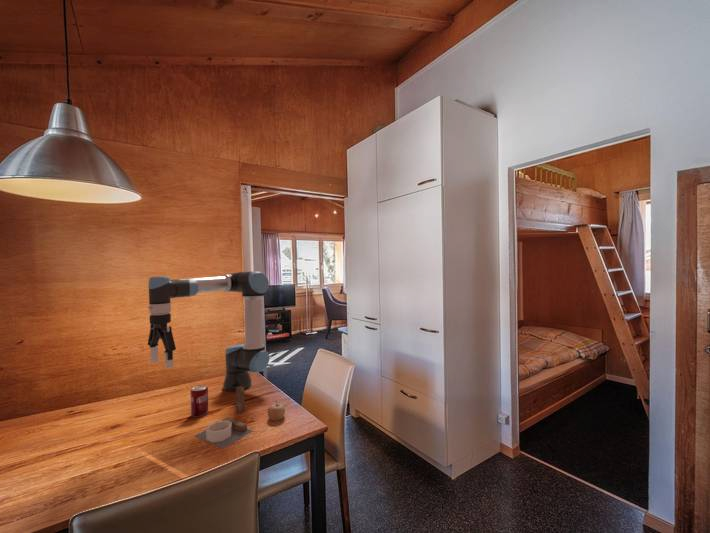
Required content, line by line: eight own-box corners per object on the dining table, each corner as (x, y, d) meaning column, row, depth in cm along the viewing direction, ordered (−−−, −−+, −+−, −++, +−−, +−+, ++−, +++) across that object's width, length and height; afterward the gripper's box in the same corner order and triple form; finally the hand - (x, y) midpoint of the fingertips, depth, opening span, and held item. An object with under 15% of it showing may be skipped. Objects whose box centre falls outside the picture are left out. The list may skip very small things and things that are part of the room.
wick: (222, 425, 132) (222, 419, 132) (227, 423, 134) (227, 417, 134) (241, 432, 126) (241, 426, 126) (246, 429, 128) (246, 423, 128)
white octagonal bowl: (222, 427, 130) (222, 418, 130) (236, 433, 126) (236, 423, 126) (202, 438, 123) (201, 428, 123) (216, 444, 118) (216, 434, 118)
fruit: (267, 417, 140) (267, 399, 140) (284, 415, 143) (284, 397, 143) (268, 425, 133) (267, 406, 133) (286, 422, 135) (285, 404, 135)
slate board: (224, 422, 137) (224, 420, 137) (253, 433, 127) (253, 430, 127) (193, 438, 125) (193, 435, 125) (223, 451, 115) (222, 448, 115)
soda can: (211, 410, 149) (211, 385, 149) (202, 417, 142) (202, 391, 142) (197, 410, 150) (196, 384, 150) (187, 417, 143) (186, 390, 143)
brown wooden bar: (241, 412, 146) (240, 386, 146) (244, 413, 145) (244, 387, 145) (236, 414, 144) (235, 388, 144) (240, 415, 143) (239, 389, 143)
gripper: (137, 313, 135) (139, 362, 135) (164, 317, 121) (165, 372, 121) (156, 310, 141) (158, 358, 141) (184, 314, 127) (185, 367, 127)
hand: (161, 365), depth 131 cm, fingers open, 13 cm apart
